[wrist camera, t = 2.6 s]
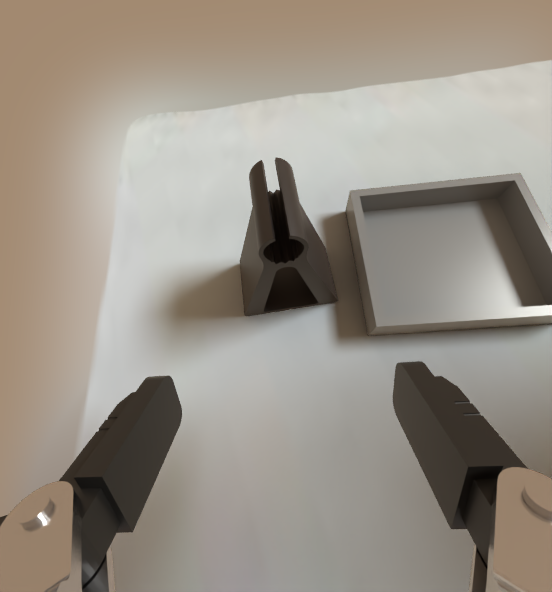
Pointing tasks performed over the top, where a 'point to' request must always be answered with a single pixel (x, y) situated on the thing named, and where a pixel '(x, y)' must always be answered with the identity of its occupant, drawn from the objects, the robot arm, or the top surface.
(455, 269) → the tray
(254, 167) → the phone stand
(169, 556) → the top surface
